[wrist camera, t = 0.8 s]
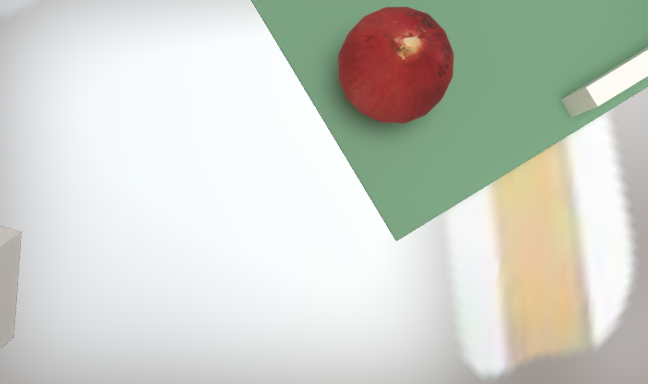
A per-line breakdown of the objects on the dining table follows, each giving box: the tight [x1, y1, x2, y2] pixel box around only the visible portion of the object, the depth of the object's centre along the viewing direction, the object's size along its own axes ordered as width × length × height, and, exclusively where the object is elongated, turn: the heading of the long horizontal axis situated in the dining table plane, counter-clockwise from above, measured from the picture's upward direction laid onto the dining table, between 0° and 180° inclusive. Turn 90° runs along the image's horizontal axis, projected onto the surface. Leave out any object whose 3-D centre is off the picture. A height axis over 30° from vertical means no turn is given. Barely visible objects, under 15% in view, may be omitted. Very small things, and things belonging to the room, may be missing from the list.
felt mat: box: [251, 0, 648, 241], centre depth 36 cm, size 17×23×1 cm
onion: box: [338, 7, 454, 123], centre depth 31 cm, size 6×6×8 cm
